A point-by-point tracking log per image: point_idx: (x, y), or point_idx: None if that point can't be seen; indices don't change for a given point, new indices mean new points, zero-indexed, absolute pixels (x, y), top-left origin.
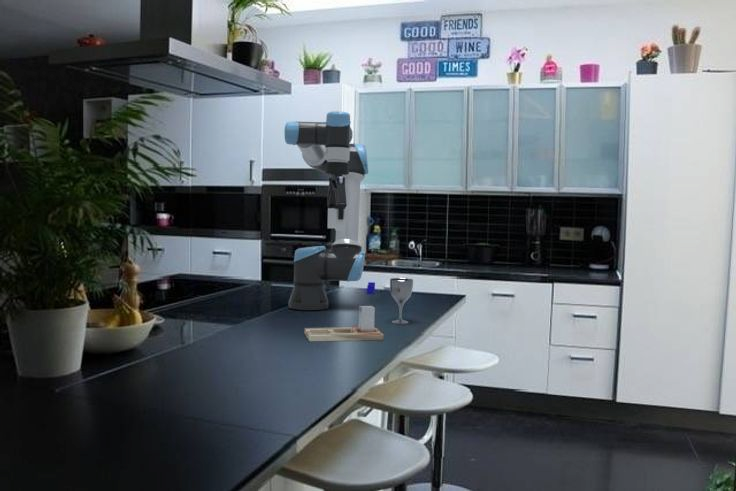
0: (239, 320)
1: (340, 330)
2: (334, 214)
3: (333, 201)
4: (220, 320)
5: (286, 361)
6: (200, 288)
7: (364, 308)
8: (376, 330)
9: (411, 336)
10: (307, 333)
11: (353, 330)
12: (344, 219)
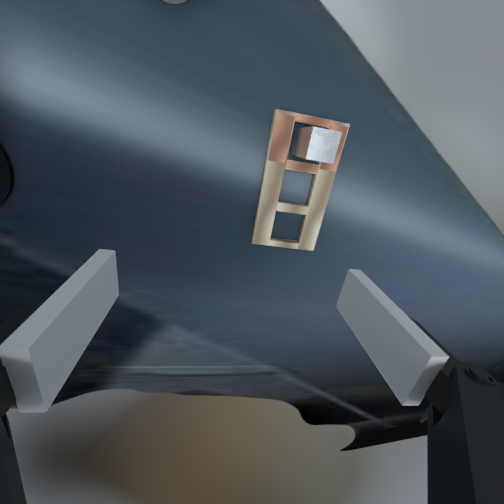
0: (123, 312)
1: (280, 187)
2: (70, 319)
3: (11, 469)
4: (122, 336)
5: (397, 293)
6: None
7: (334, 157)
8: (316, 123)
9: (337, 41)
10: (289, 247)
11: (301, 169)
12: (394, 305)
